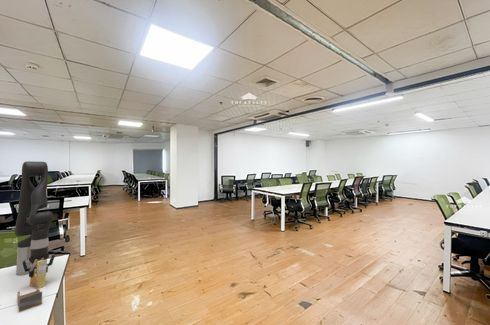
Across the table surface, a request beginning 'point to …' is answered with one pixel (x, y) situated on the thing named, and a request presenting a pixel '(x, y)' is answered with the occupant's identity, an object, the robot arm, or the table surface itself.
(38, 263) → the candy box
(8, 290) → the table surface
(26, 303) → the cradle
